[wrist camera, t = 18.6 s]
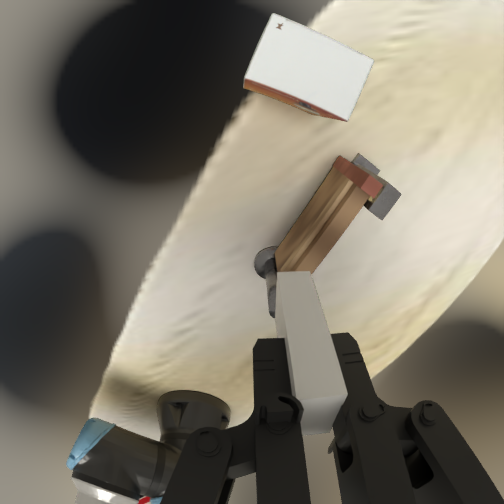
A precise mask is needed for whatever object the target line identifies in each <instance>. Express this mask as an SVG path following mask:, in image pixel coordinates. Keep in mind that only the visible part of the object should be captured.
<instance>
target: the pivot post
mask: <svg viewBox="0 0 504 504" xmlns="http://www.w3.org/2000/svg"><path fill="white" fill-rule="evenodd" d="M277 248H278V247H268V248H265V249H263V250H262V251H260V252H259V253H258V254H257V256H256V258H255V262H254V264H255V270H256V272H257V274H258V275H259V276H261V277H262V278H264V279H266V285H267V295H268V305H269V313H270V315H271V316H272V317H273V318H275V309H276V286H277V272H278V271H277V265H276V259H275V251H276V250H277Z"/></svg>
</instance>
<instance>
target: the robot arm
mask: <svg viewBox="0 0 504 504" xmlns="http://www.w3.org/2000/svg"><path fill="white" fill-rule="evenodd" d="M275 321H276V329H277V338H266V339H258V340H257V342H256V344H255V346H254V348H253V381H254V411H253V413H252V415H251V416H250V417H249V419H248V420H247V421H245V422H244V423H242V424H240V425H238V426H235V427H231V428H228V429H227V427H228V425H229V422H230V409H229V407H228V406H227V405H226V404H225V403H224V402H223V401H221V400H220V399H218V398H216V397H213V396H211V395H208V394H204V393H200V392H194V391H173V392H169V393H166V394H164V395H162V396H161V397H160V399H159V402H158V406H157V415H158V421H159V426H160V432H161V437H160V442H158V441H156V440H153V439H150V438H147V437H144V436H141V435H139V434H136V433H133V432H131V431H128V430H126V429H123V428H121V427H118V426H116V424H114V423H113V424H111V423H109V422H106V421H104V420H101V419H99V418H91V419H89V420H88V421H87V422H86V423H85V425H84V427H83V428H82V430H81V432H80V434H79V436H78V438H77V440H76V442H75V444H74V446H73V448H72V451H71V453H70V455H69V458H68V460H67V463H66V465H67V467H68V468H69V469H71V470H73V474H72V478H71V479H72V481H73V483H74V484H75V486H76V488H77V490H78V492H77V497H76V501H75V504H138V503H139V498H140V495H144V496H147V497H150V498H151V499H150V502H151V504H228V501H229V498H230V495H231V492H232V489H233V485H234V482H235V479H236V478H238V477H242V476H245V475H248V474H251V473H254V472H256V485H257V504H311V501H310V492H309V484H308V477H307V468H306V460H305V453H304V445H303V438H302V436H304V435H313V434H322V433H329V432H330V431H331V429H332V427H333V430H334V435H335V437H334V439H333V441H332V443H331V444H330V446H329V448H328V453H331V452H332V451H333V452H334V458H335V464H336V469H337V476H338V481H339V488H340V493H341V500H342V504H504V500H503V498H502V497H501V495H500V493H499V492H498V490H497V488H496V487H495V485H494V483H493V482H492V480H491V479H490V477H489V475H488V474H487V472H486V471H485V469H484V468H483V466H482V465H481V463H480V462H479V460H478V459H477V457H476V456H475V454H474V453H473V451H472V450H471V448H470V447H469V445H468V444H467V443H466V441H465V440H464V438H463V437H462V435H461V434H460V432H459V431H458V430H457V428H456V427H455V425H454V424H453V422H452V421H451V420H450V418H449V417H448V416H447V414H446V413H445V412H444V410H443V409H442V407H440V406H439V405H438V404H437V403H435V402H433V401H427V400H425V401H421V402H419V403H418V404H416V405H415V406H414V407H413V408H403V407H393V406H389V405H387V404H386V403H385V402H384V401H382V400H381V399H380V398H378V397H377V395H376V393H375V391H374V388H373V385H372V382H371V379H370V376H369V373H368V371H367V368H366V365H365V362H364V360H363V357H362V354H361V353H360V349H359V346H358V344H357V341H356V340H355V339H354V338H353V337H352V336H351V335H350V334H349V333H337V334H330V331H329V328H328V325H327V322H326V319H325V316H324V312H323V309H322V306H321V303H320V300H319V297H318V294H317V291H316V288H315V285H314V282H313V279H312V276H311V273H310V271H297V272H277V286H276V309H275Z"/></svg>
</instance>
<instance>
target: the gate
mask: <svg viewBox="0 0 504 504" xmlns="http://www.w3.org/2000/svg"><path fill="white" fill-rule="evenodd" d="M382 186H383V185H382V184H381V183H380V182H378V181H377V180H376V179H375V178H373V177H372V176H371V175H369V174H368V173H366V172H365V171H363V170H362V169H360V168H359V167H357V166H356V165H354V164H352V163H351V162H349V161H348V160H346V159H344V158H343V157H341V156H339V157H338V158H337V160H336V161H335V163H334V164H333V168H332V170H331V171H330V173H329V174H328V176H327V177H326V179H325V180H324V181H323V183H322V184H321V186H320V187H319V189H318V190H317V192H316V193H315V195H314V196H313V198H312V199H311V201H310V202H309V204H308V205H307V206H306V208H305V209H304V211H303V212H302V214H301V215H300V217H299V218H298V220H297V221H296V222H295V224H294V225H293V227H292V228H291V230H290V231H289V233H288V234H287V235H286V237H285V238H284V240H283V241H282V243H281V244H280V246H279V247H278V248H277V250H276V251H275V259H276V265H277V271H278V272H297V271H310V273H311V274H312V273H313V272H314V271H315V269H316V268H317V267H318V265H319V264H320V263H321V262H322V260H323V259H324V258H325V256H326V255H327V254H328V253H329V251H330V250H331V249H332V247H333V246H334V245H335V243H336V242H337V241H338V239H339V238H340V237H341V235H342V234H343V233H344V231H345V230H346V229H347V227H348V226H349V225H350V223H351V222H352V220H353V219H354V218H355V216H356V215H357V214H358V212H359V211H360V209H361V208H362V207H363V205H364V204H365V202H366V201H367V200H368V198H369V197H370V196H371V197H373V198H375V196H376V195H377V194H378V192H379V191H380V189H381V188H382Z"/></svg>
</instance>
